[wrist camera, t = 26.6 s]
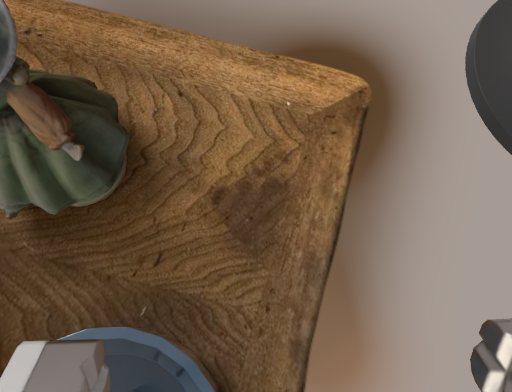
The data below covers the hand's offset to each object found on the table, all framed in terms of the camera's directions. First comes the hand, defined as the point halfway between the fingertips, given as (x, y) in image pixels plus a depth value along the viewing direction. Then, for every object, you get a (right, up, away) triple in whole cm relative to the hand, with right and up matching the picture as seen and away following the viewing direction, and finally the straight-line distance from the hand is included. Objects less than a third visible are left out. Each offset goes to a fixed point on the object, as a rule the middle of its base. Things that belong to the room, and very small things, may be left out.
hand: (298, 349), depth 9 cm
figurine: (-20, +7, +31) cm, 37 cm away
